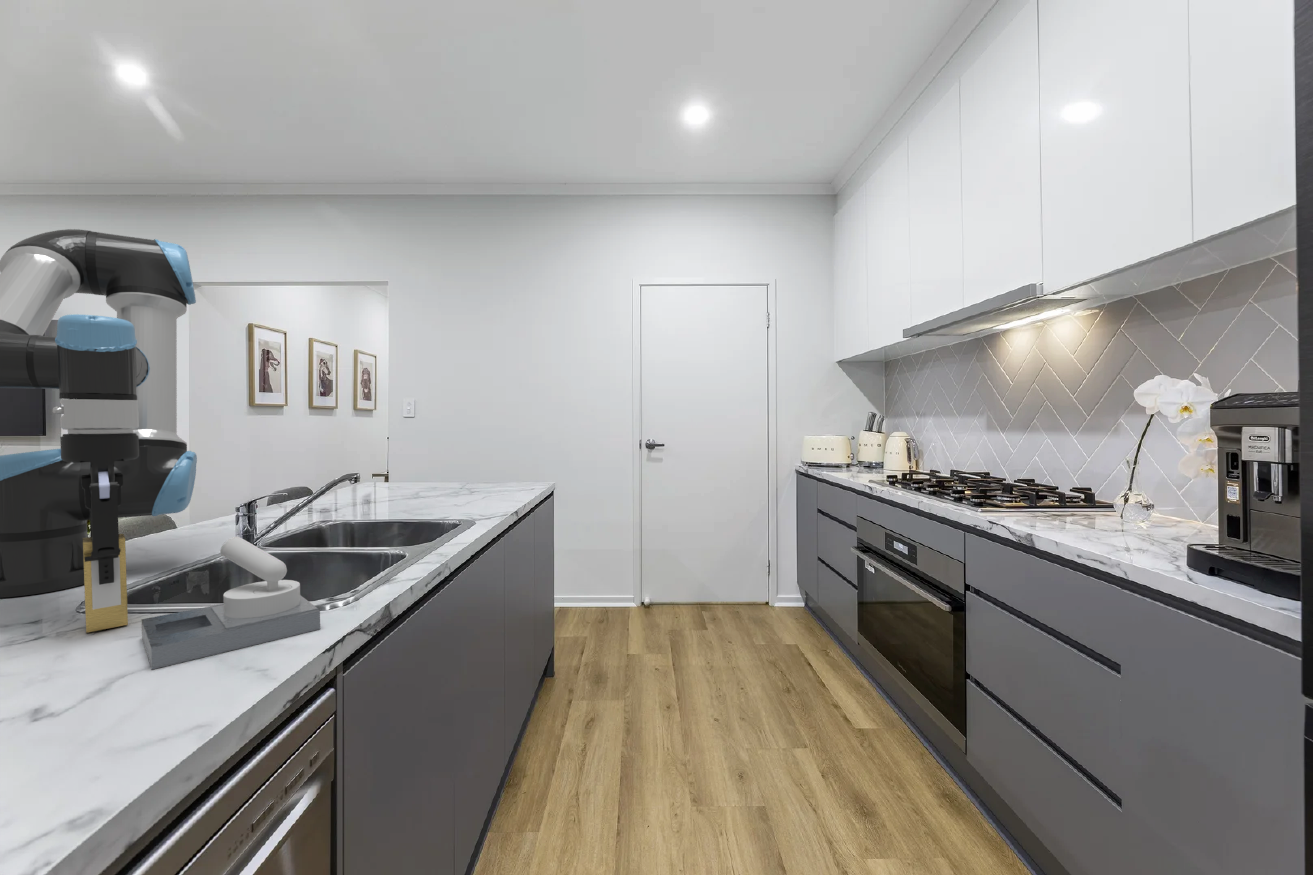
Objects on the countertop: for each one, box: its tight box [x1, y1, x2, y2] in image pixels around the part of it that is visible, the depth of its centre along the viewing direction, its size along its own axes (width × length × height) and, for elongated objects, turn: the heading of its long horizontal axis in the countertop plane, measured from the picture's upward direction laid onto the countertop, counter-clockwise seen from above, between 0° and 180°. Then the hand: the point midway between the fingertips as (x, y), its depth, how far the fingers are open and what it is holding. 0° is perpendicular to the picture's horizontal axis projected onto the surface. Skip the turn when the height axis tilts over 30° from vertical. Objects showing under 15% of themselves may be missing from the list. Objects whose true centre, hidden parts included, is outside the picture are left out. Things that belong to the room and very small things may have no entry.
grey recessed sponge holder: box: [140, 594, 321, 670], centre depth 74 cm, size 13×17×3 cm
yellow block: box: [83, 533, 129, 634], centre depth 76 cm, size 4×4×12 cm
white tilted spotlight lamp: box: [219, 536, 301, 618], centre depth 77 cm, size 9×10×10 cm
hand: (106, 601), depth 76 cm, fingers closed on yellow block, 4 cm apart
